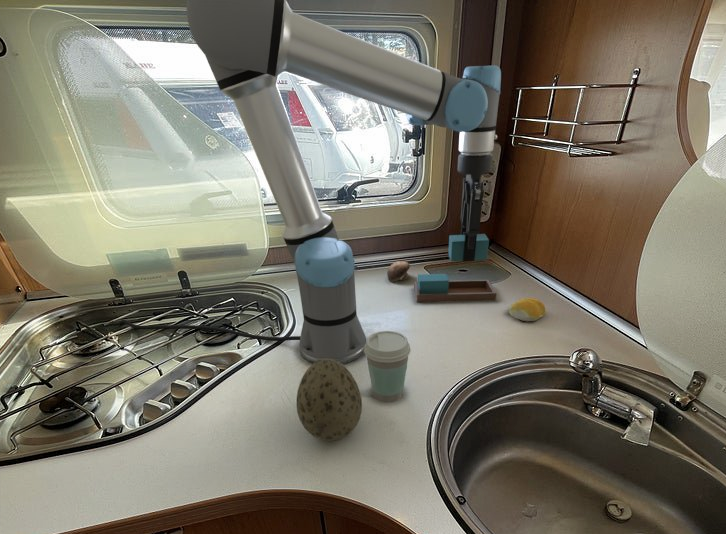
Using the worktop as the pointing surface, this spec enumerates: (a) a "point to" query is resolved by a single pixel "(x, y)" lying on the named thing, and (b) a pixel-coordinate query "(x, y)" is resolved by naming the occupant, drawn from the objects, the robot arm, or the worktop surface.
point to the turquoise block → (433, 283)
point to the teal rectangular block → (458, 247)
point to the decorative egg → (328, 400)
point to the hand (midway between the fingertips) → (466, 256)
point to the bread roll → (527, 309)
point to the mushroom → (398, 271)
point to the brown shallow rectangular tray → (460, 292)
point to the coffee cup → (387, 364)
